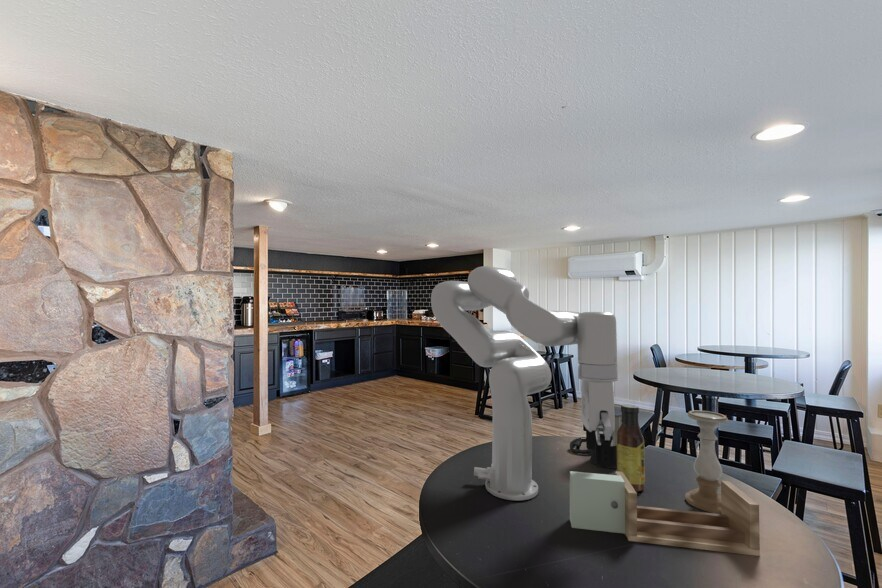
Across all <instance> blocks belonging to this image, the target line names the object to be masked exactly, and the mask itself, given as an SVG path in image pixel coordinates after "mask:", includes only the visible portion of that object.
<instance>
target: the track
mask: <svg viewBox="0 0 882 588" xmlns="http://www.w3.org/2000/svg"><path fill="white" fill-rule="evenodd" d="M614 475H618V476H621V477H622V478H623V480H624V481H625V534H624V535H625V537H626V538H627V541H628V542H635V543H644V544H645V543H646V544H653V545H661V546H669V547H679V548H680V547H681V548H688V549H694V550H695V549H696V550H705V551H713V552H720V553H721V552H723V553H730V554H738V555H739V554H740V555H747V556H748V555H749V556H756V557H760V556H761V554H760V553H761V552H760V551H761V548H760V547H761V546H760V545H761V543H760V540H761V539H760V537H761V536H760V504H758V503H757V502H756V501H754V499H752V498H751V497H749V496H748V495H747V494H746V493H745V492H744V491H742V490H741V489H740V488H738V487H737V486H736V485H735V484H733V483H732V482H731V481H729V480H720V483H721V486H720V494H721V514H717V513H711V512H706V511H703V512H701V511H693V510H685V509H683V510H682V509H674V508H672V509H671V508H663V507H654V506H643V505H638V492H637V491H635V490H634V488H633V487H632V485H631V484H630V482H629V481H628V479H627V478H626V476H625V475H624V473H623V472H617V470H616V471H615V472H614Z"/></svg>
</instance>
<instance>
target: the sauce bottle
mask: <svg viewBox="0 0 882 588" xmlns="http://www.w3.org/2000/svg"><path fill="white" fill-rule="evenodd" d="M639 409H640V407H639V406H638V405H635V404H628V403H627V404H626V403H625V404H621V405H620V410H621V412H622V420H621V421H622V425H621V426H620V428H619V429H618V431H617V468H616V471H617V472H623V473H624V475H625V476H626V478H627V479H628V481H629V482H630V484H631V485H632V487H633V488H634V490H635V491H636V492H642V491H643V490H644V489H645V482H646V473H645V472H646V470H645V469H646V468H645V467H646V465H645V463H646V462H645V459H646V456H645V454H646V453H645V438H644V436H643V432H642V430H641V426H640V425H639V424H640V423H639V413H640V410H639Z"/></svg>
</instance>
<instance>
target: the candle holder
mask: <svg viewBox="0 0 882 588" xmlns="http://www.w3.org/2000/svg"><path fill="white" fill-rule="evenodd" d="M687 416H688V418H690V419H692V420H696V425H698V427H699V429H700V432H699V433H698V434H697V438H699V440H700V442H699V444H700V446H699V452H698V455H697V457H696V458H695V460H694V462H693V470H694V472H695V473H696V475H697V476H696V477H695V481H696V482H697V485H698V487H697V488H693V489H691V490H689V491H688V492H686V493H685V500H686V502H687V503H688V504H689V505H690V506H693V507H694V508H696V509H698V510H701V511H703V512H706V513H715V514H721V493H720V492H718V490H719V488H721V481H719V479H720V478H721V477H722V476H723V467H722V465H721V463H720V461H719V459H718V456H717V454H716V442H717V441H718V439H719V438H718V437H717V435H716V433H715V431H716V430H717V428H719V426H720V425H719V424H726V423H728V421H729V418H728V417H727V415H724V414H722V413H719V412H715V411H710V410H701V409H700V410H695V409H694V410H689V411H688V413H687Z"/></svg>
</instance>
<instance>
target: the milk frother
mask: <svg viewBox="0 0 882 588" xmlns="http://www.w3.org/2000/svg"><path fill="white" fill-rule="evenodd" d="M614 411H615V429H614V431H613V432H612V436H613V437H612V438H613V446H614V467H605V468H607V469H617V431H618V429H619V428H620V426H621V425H622V421H621V420H622V412H621V409H618V408H614ZM581 438H586V436H585V437H582V436H581V437H578V438H575V439H573V440H572V441H570V443H569V449H570V450H571V451H572V452H574V453H576V454H580V455H588V454H590V458H589V459H590V462H591V463H592V464H594V465H596V456H595V450H592V449H587V448H586V449H580V448H581V446H582V443H586V439H581Z"/></svg>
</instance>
